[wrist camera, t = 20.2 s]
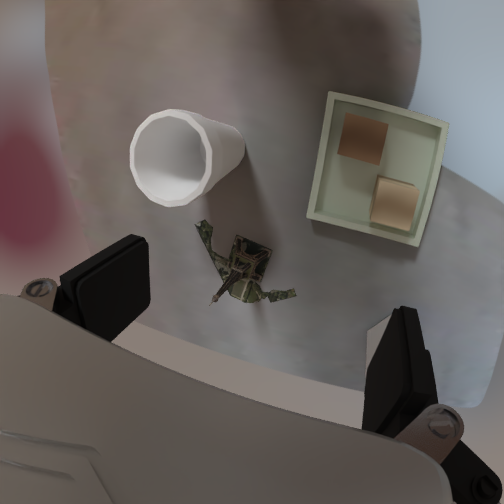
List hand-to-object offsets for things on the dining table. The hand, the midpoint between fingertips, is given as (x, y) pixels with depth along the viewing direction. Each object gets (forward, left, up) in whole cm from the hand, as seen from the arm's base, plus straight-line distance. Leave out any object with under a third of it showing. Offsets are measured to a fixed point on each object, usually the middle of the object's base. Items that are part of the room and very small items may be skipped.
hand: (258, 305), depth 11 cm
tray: (-3, +5, -29) cm, 30 cm away
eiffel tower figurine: (+13, -9, -30) cm, 34 cm away
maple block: (0, +8, -29) cm, 30 cm away
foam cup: (-1, -14, -30) cm, 33 cm away
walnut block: (-6, +3, -29) cm, 29 cm away
